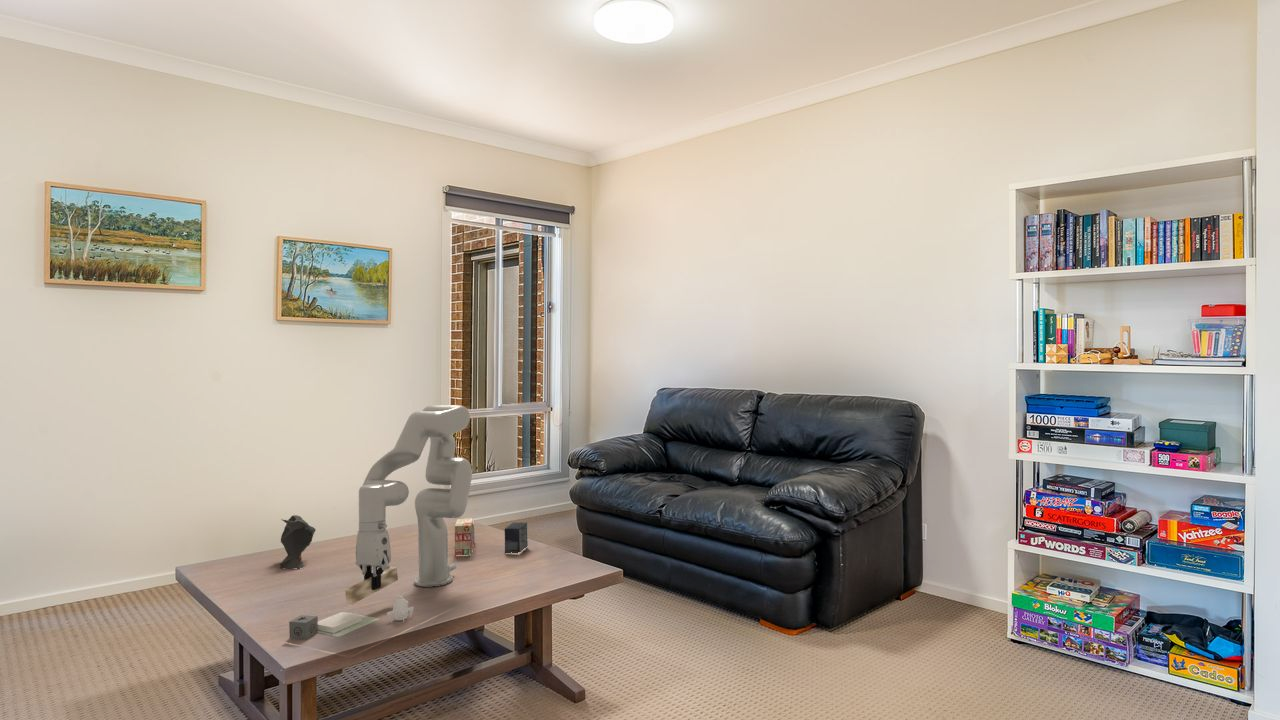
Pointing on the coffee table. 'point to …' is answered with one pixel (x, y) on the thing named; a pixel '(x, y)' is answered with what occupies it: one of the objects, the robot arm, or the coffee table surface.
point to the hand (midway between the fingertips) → (372, 587)
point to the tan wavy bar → (370, 586)
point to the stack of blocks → (464, 536)
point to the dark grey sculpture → (295, 541)
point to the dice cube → (303, 627)
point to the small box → (516, 537)
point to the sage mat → (364, 622)
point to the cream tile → (338, 622)
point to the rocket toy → (400, 609)
